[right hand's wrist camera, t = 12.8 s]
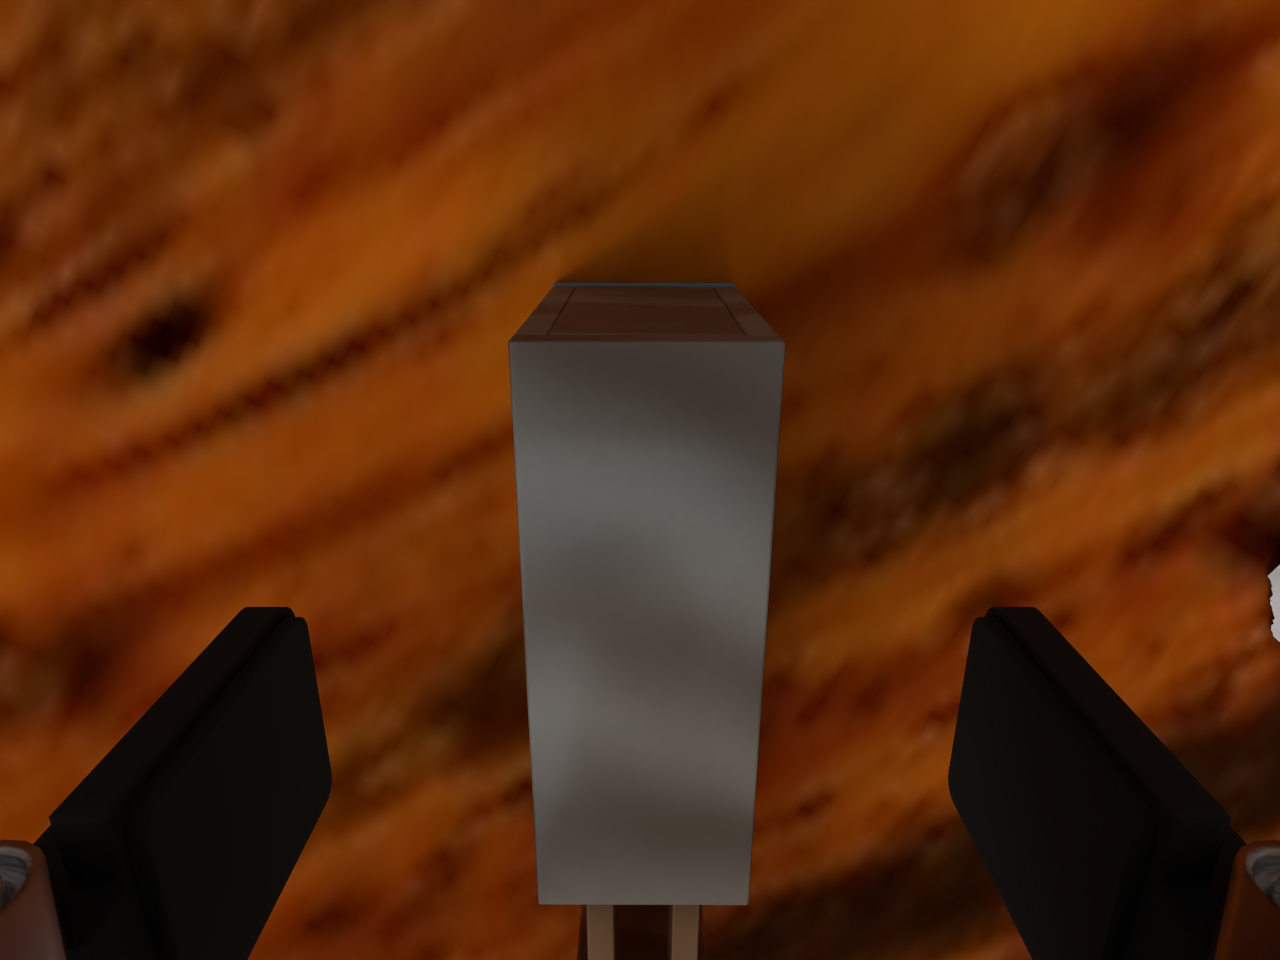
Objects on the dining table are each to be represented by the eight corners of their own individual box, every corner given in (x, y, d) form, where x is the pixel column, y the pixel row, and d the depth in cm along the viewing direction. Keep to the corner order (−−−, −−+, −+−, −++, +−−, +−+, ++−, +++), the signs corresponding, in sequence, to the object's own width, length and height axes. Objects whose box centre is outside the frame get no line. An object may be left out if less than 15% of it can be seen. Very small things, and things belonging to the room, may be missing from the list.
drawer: (692, 961, 35) (707, 1182, 27) (589, 960, 35) (574, 1182, 27) (707, 552, 28) (733, 693, 21) (578, 552, 28) (555, 692, 21)
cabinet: (716, 689, 31) (748, 906, 22) (568, 688, 31) (537, 905, 22) (733, 282, 26) (786, 340, 17) (555, 282, 26) (506, 340, 17)
